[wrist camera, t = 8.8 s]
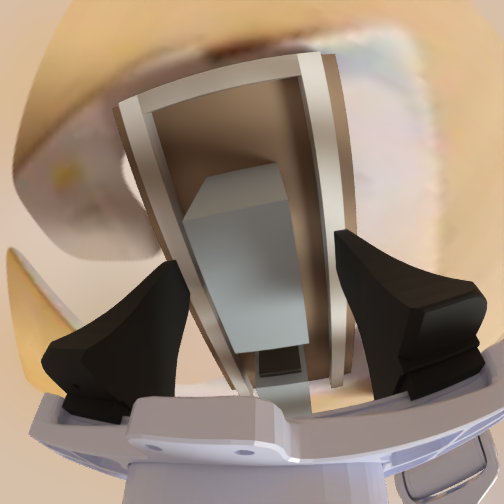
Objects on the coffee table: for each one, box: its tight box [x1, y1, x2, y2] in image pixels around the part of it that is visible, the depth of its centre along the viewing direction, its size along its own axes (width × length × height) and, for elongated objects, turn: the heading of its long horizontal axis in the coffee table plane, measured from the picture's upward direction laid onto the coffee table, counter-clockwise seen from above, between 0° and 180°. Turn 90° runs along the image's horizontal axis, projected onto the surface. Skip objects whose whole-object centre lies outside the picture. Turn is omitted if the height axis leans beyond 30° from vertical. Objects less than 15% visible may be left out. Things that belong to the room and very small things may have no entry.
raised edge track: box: [113, 52, 357, 417], centre depth 15 cm, size 24×11×6 cm, turn 12°
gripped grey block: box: [182, 162, 309, 353], centre depth 13 cm, size 4×7×5 cm, turn 12°
